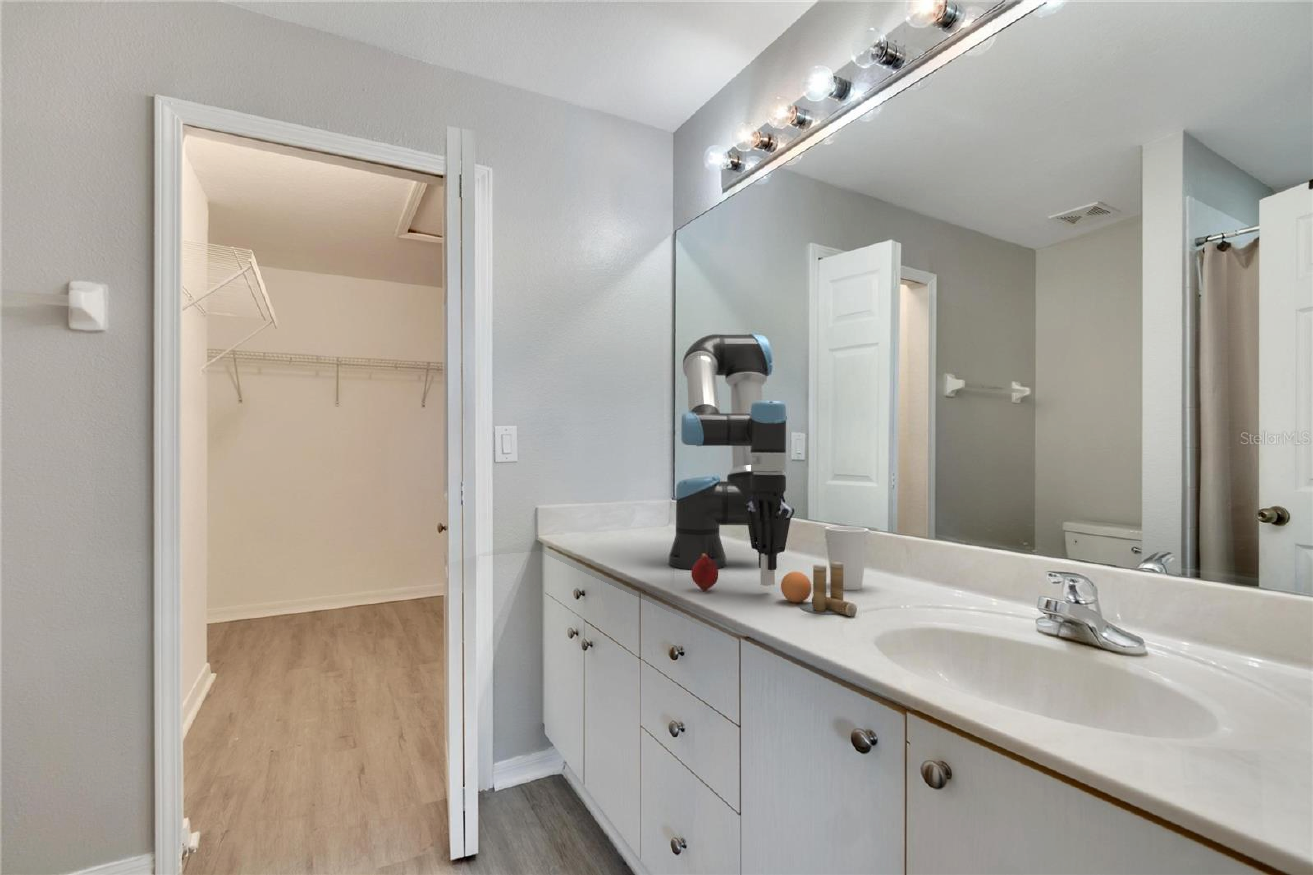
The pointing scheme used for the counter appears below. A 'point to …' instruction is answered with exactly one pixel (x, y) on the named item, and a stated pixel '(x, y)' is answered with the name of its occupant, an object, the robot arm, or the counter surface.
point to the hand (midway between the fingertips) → (767, 584)
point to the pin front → (840, 606)
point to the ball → (796, 587)
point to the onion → (704, 573)
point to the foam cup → (848, 552)
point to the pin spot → (809, 608)
